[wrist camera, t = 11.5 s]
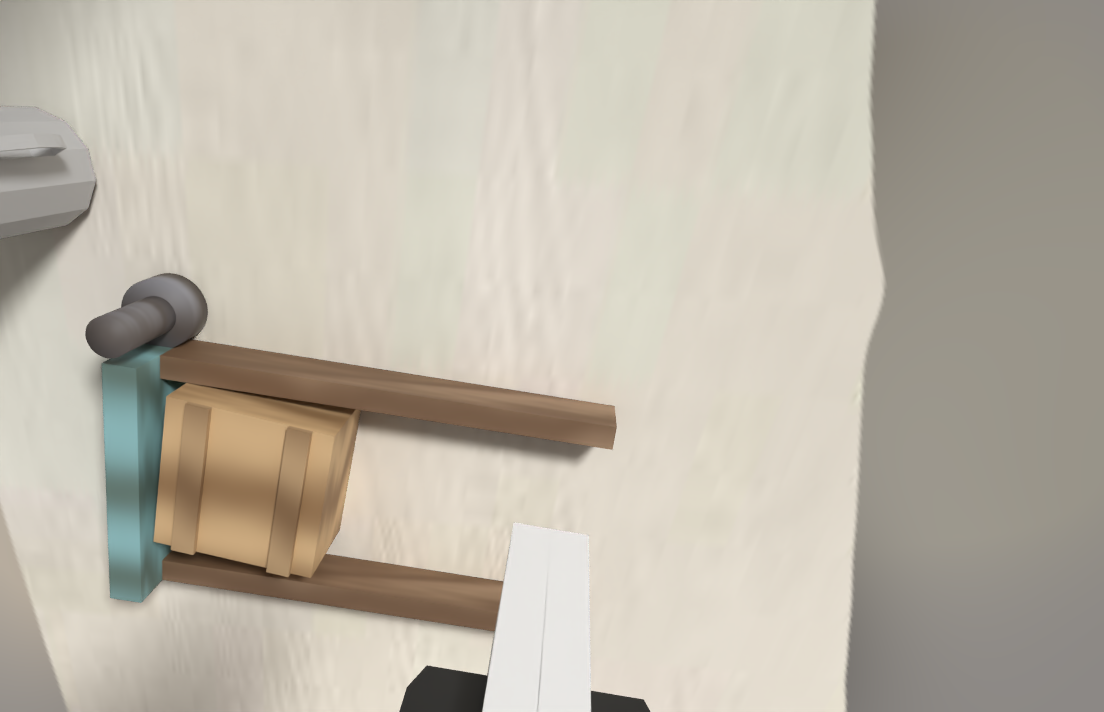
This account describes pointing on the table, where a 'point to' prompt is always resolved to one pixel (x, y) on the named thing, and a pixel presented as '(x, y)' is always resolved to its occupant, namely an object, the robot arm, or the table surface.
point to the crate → (253, 477)
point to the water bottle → (41, 172)
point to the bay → (174, 359)
